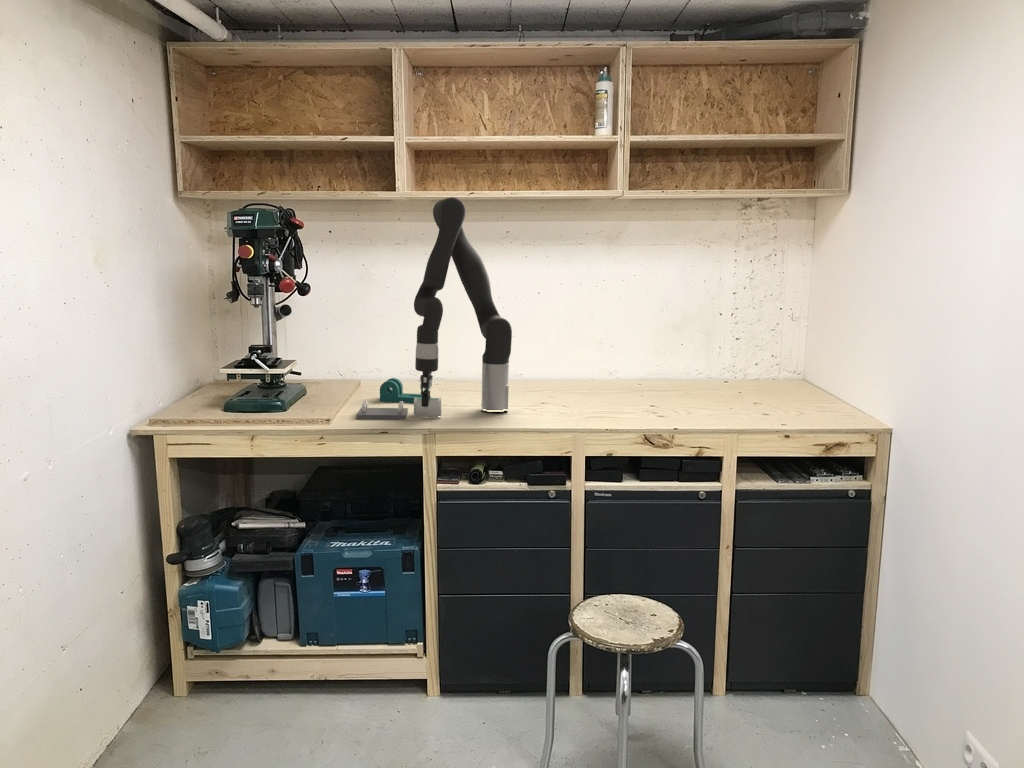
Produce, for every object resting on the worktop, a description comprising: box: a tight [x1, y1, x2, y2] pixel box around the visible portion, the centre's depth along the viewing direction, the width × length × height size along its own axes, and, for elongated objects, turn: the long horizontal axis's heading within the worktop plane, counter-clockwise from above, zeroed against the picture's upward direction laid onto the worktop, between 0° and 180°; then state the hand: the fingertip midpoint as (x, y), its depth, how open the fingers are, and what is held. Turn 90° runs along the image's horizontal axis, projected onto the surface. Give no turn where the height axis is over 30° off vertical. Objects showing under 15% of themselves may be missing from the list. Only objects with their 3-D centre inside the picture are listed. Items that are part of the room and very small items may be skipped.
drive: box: [413, 397, 442, 418], centre depth 231 cm, size 9×4×6 cm, turn 93°
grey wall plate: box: [356, 400, 409, 421], centre depth 230 cm, size 16×10×4 cm, turn 94°
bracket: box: [379, 377, 422, 404], centre depth 252 cm, size 18×7×8 cm, turn 84°
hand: (425, 403), depth 231 cm, fingers open, 8 cm apart
